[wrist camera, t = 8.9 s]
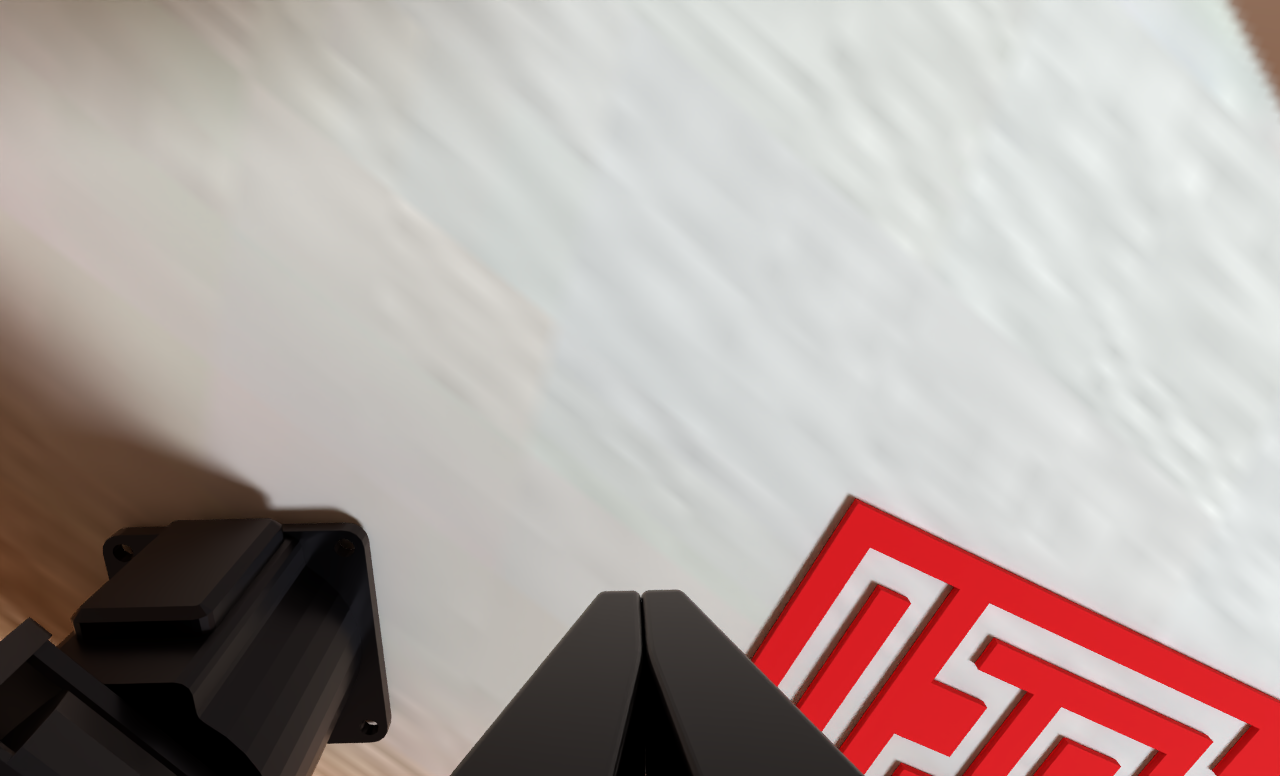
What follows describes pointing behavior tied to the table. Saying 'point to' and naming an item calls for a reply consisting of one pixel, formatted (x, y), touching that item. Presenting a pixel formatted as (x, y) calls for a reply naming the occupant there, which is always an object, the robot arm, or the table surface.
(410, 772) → the table surface
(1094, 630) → the maze puzzle
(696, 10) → the table surface
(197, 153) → the table surface
